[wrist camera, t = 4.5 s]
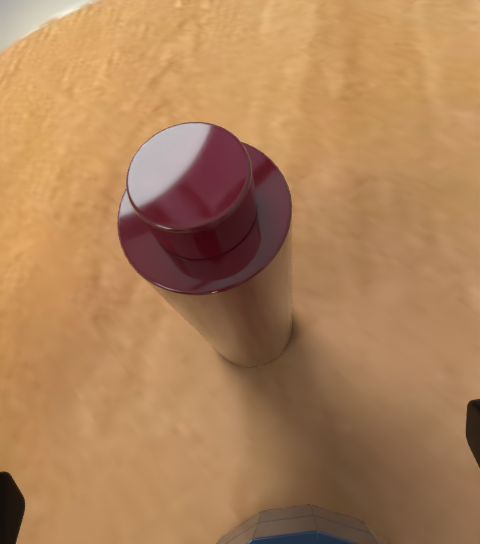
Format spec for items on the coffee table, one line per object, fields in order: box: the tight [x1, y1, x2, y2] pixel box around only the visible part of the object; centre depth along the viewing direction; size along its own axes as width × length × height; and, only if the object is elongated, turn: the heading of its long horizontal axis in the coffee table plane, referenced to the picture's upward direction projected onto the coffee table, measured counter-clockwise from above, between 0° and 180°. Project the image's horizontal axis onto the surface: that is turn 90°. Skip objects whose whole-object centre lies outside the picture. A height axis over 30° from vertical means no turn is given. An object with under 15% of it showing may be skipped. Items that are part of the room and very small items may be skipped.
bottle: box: [118, 122, 292, 367], centre depth 14 cm, size 4×4×14 cm
